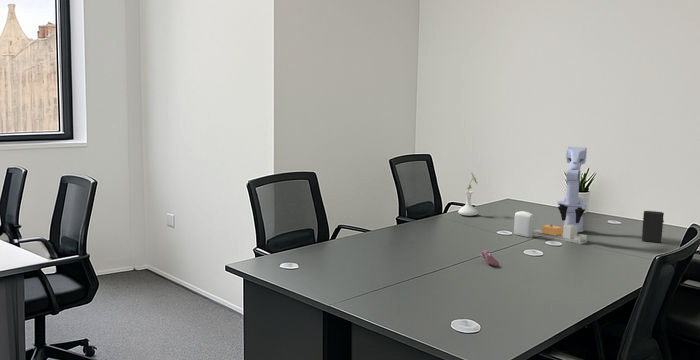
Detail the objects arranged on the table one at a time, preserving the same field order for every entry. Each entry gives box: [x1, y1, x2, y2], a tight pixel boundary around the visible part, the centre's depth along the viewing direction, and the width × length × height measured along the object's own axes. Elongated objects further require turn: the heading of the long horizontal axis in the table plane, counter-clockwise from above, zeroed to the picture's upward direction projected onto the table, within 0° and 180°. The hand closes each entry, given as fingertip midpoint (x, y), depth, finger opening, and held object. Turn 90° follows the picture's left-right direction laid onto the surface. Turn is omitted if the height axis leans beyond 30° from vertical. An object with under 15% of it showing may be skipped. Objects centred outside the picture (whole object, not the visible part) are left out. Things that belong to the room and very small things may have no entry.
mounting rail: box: [533, 228, 588, 245], centre depth 344 cm, size 6×29×4 cm, turn 40°
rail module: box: [562, 224, 578, 239], centre depth 339 cm, size 6×4×6 cm, turn 130°
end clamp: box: [541, 224, 563, 236], centre depth 346 cm, size 6×8×4 cm
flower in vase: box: [457, 171, 479, 217], centre depth 398 cm, size 13×11×25 cm
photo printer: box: [513, 210, 535, 238], centre depth 347 cm, size 10×4×12 cm, turn 39°
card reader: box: [641, 210, 665, 244], centre depth 338 cm, size 9×4×15 cm, turn 65°
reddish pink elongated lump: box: [480, 249, 500, 267], centre depth 294 cm, size 10×5×7 cm, turn 6°
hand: (570, 221), depth 338 cm, fingers open, 7 cm apart
